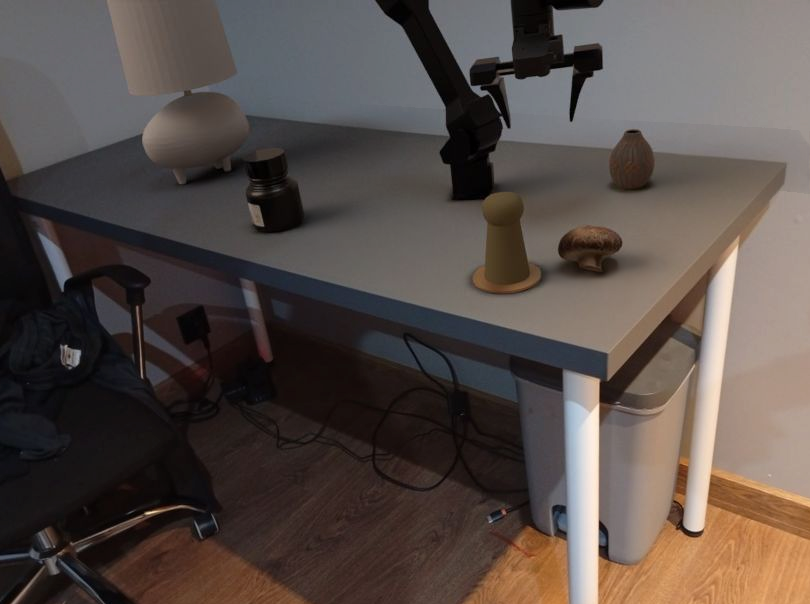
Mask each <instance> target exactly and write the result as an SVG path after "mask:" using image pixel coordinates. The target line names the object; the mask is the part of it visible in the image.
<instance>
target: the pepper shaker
mask: <svg viewBox="0 0 810 604" xmlns="http://www.w3.org/2000/svg"><path fill="white" fill-rule="evenodd" d="M524 208H525V207H524V203H523V199H522V198H521V196H520V195H519V194H517V193H514V192H512V191H499V192H498V191H497V192H495V193H492V194H491V193H490V196H488V197H487V198H484V200H483V202H482V206H481V212H482V216H483V219H484V220H485V221H486V222H487V225H486V239H485V255H484V266H485V270H484V277H485V279H486V280H487V281H488V282H490V283H493V284H498V285H509V284H515V283H519V282H521V281H524V280H525V279H527V278H528V277H529V275H530V270H529V265H528V262H529V260H528V255H527V250H526V245H525V240H524V235H523V229H522V224H521V218H522V216H523V215H524V211H525V210H524Z"/></svg>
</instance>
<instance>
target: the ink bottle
mask: <svg viewBox="0 0 810 604" xmlns="http://www.w3.org/2000/svg"><path fill="white" fill-rule="evenodd" d="M242 160H243V164H244V169H245V172H246V176H247V179H248V181H249V184H248V185H247V187H246V189H245V198H246V202H247V205H248V209H249V213H250V217H251V220H252V221H251V222H252V224H253V227H254V229H255V230H256V231H259V232H263V233H265V232H266V233H271V232H280V231H285V230H288V229H291V228H295V227H296V226H298V225H299V224H301V223H302V221H303V220H304V219H305V212H304V207H303V201H302V197H301V193H300V188H299V183H298V181H297V179H295V178H294V177H292V176H291V175H290V174H289V166H288V160H287V156H286V152H285V149H283V148H279V147H268V148H261V149H257V150H254V151H252V152H249V153H247V154H245V155H244V156H243V159H242Z"/></svg>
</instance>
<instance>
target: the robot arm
mask: <svg viewBox="0 0 810 604" xmlns="http://www.w3.org/2000/svg"><path fill="white" fill-rule="evenodd" d="M374 1H375V3H376V4H377V5H378V7H379V8H380V9H381V11H382V12H383V14H384V15H385V16H387V17H388V18H389V19H391V20H392V21H394V22H395V23H396V24H398V25H399V26H401V28H402V29H403V31H404V33H405V35H406V37H407V38H408V40H409V42H410V44H411V46H412V48H413V50H414V51H415V54H416V55H417V57H418V59H419V60H420V63H421V64H422V66H423V68H424V70H425V72H426V73H427V76H428V78H429V79H430V81H431V83H432V84H433V86H434V89H435V90H436V92H437V94H438V96H439V98H440V99H441V101H442V103H443V105H444V108H445V128H446V130H447V133H448V135H449V138H448V139H447V141H446V142H445V143H444V144H443V146H442V147H441V148H440V150H439V151H438V152H439V156H440V158H441V161H442V163H443V165H449V166H450V167H449V168H450V178H451V185H452V186H451V188H452V193H451V195H450V198H451V200H453V201H454V200H474V199H477V200H478V199H486V198H487V197H488V196H490V195H491V193H492V191H493V190H494V189H495V185H496V184H495V170H494V169H495V168H494V163H493V162H491V160H490V154H491V153H494V152H495V151H496V149H497V146H498V143H499V141H500V139H501V137H502V133H503V129H504V126H503V122H504V124H505V126H506V128H507V129H508V130H510V129H511V128H512V121H511V120H512V119H511V112H510V111H511V110H510V106H509V102H508V101H509V100H508V94H507V89H506V82H505V78H504V77H505V76H510V75H514V78H515V79H516V80H520V81H521V80H526V79H527V78H534V77H535V78H536V77H538V78H544V77H547V76H548V75H550V73H551V71H552V70H559V69H564V68H572V75H571V89H570V98H569V99H570V101H569V109H568V110H569V111H568V114H569V123H573V121H574V118H575V114H576V109H577V105H578V101H579V98H580V95H581V92H582V89H583V87H584V84H585V82H586V80H587V79H590V78H593V77H594V75H595V74H594V73H595V72H596V71H597V72H598V71H601V70H602V71H603V69H604V55H603V53H604V52H603V46H602V45H601V44H600V43H599V42H596V43H589V44H581V45H574V47H573V52H569V53H565V49H564V48H565V47H564V36H563V34H555V25H554V24H555V22H554V21H555V20H554V10H556V11H573V10H587V9H597V8H599V7H600V6H601V5H602V4H603V3H604V1H605V0H510V12H511V14H510V15H511V24H512V25H511V26H512V37H513V40H512V45H511V54H512V55H511V56H512V60H507V61H502V62H501V59H500V56H491V57H485V58H479V59H476V60H475V61H474V63H472V65H471V67H469V71H468V73H469V75H468V76H469V82H470V84H469V82H468V80H467V78H466V76H465V74H464V72H463V70H462V68H461V67H460V65H459V63H458V61H457V59H456V58H455V55H454V54H453V52H452V50H451V48H450V47H449V44H448V43H447V41H446V39H445V37H444V35H443V34H442V31H441V29H440V27H439V26H438V24H437V22H436V19H435V18H434V16H433V14H432V13H431V10H430V0H374ZM478 86H479V89H480V92H481V91H482V92H485V91H486V92H487V93H486V94H484V95H483V96H481V95H479V94H478V93H476V92H475V91H474V90H473V89H472V87H478ZM496 105H497V107H496ZM497 108H498V109H499V110H498V109H497ZM501 118H502V119H503V122H502V119H501Z"/></svg>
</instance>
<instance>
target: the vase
mask: <svg viewBox="0 0 810 604" xmlns="http://www.w3.org/2000/svg"><path fill="white" fill-rule="evenodd" d="M655 162H656V161H655V154H654V150H653V147H652V146H651V145H650V143H649V142H648V140H646V139H645V137H644V135H643V133H642V130H640V129H636V128H631V129H627V130H625V131H624V132H623V134H622V136H621V138H620V139H619V141H617V143H616V145H614V147H613V148H612V151H611V153H610V157H609V162H608V163H609V164H608V165H609V166H608V167H609V168H608V169H609V174H610V178H611V180H612V181H613V183H614V184H615V185H616V186H617V187H618V188H620V189H622V190H623V189H624V190H637V189H640V188H643V187H644V186H645V185H646V184H647V183H648V182H649V181H650V180H651V178H652V176H653V173H654V170H655Z"/></svg>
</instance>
